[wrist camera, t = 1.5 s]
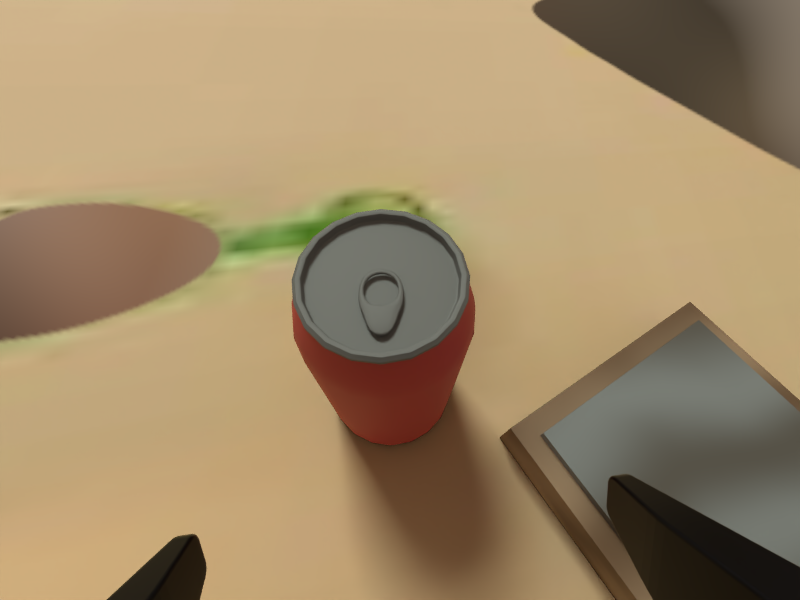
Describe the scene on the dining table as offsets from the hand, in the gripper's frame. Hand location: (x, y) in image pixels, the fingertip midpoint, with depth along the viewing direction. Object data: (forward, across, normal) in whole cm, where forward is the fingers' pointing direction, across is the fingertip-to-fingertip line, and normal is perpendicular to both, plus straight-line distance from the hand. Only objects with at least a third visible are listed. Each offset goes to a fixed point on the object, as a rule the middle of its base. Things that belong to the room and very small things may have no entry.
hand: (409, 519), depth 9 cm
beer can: (+14, 0, +4) cm, 14 cm away
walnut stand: (+9, -14, +9) cm, 19 cm away
